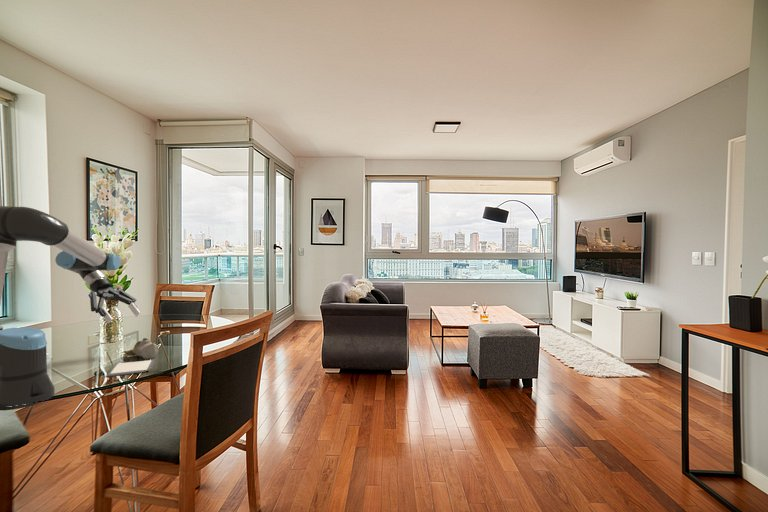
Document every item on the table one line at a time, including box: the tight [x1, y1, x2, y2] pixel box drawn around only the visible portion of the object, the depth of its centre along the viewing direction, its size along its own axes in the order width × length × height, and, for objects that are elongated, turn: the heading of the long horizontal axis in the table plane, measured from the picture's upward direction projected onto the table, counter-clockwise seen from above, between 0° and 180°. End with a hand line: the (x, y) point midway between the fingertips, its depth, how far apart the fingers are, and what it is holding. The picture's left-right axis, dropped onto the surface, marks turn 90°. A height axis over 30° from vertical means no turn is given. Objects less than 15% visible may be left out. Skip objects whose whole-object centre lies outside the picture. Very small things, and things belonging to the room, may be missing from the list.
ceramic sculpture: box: [124, 337, 160, 360], centre depth 165 cm, size 11×9×15 cm
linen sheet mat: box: [105, 359, 155, 378], centre depth 151 cm, size 14×14×1 cm
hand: (125, 317), depth 167 cm, fingers open, 13 cm apart
